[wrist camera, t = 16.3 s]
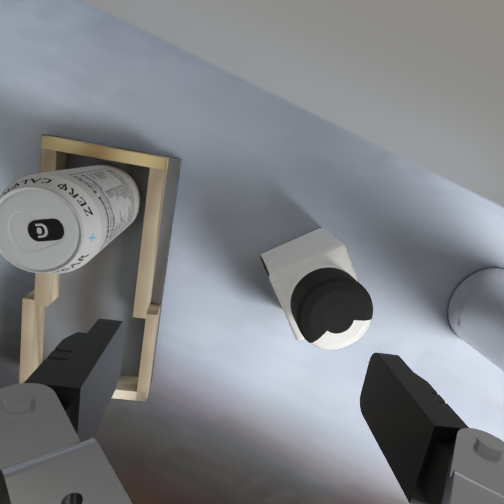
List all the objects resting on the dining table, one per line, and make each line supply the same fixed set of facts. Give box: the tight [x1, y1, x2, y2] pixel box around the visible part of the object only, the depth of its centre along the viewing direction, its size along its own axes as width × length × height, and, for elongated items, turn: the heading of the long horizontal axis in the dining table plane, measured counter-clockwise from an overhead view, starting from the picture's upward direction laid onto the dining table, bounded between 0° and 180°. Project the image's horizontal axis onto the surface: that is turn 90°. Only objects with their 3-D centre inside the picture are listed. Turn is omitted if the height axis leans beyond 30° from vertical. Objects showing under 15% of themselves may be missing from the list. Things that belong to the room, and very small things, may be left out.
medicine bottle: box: [260, 228, 373, 349], centre depth 34 cm, size 7×7×12 cm
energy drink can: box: [0, 165, 141, 274], centre depth 28 cm, size 6×6×15 cm
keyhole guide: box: [19, 134, 181, 401], centre depth 36 cm, size 12×24×4 cm, turn 169°
